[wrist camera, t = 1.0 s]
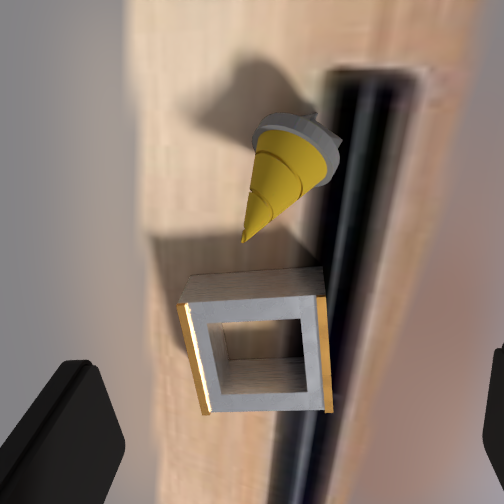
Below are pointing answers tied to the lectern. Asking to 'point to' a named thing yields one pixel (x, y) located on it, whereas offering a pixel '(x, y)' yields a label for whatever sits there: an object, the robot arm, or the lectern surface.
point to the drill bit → (287, 165)
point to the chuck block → (257, 370)
